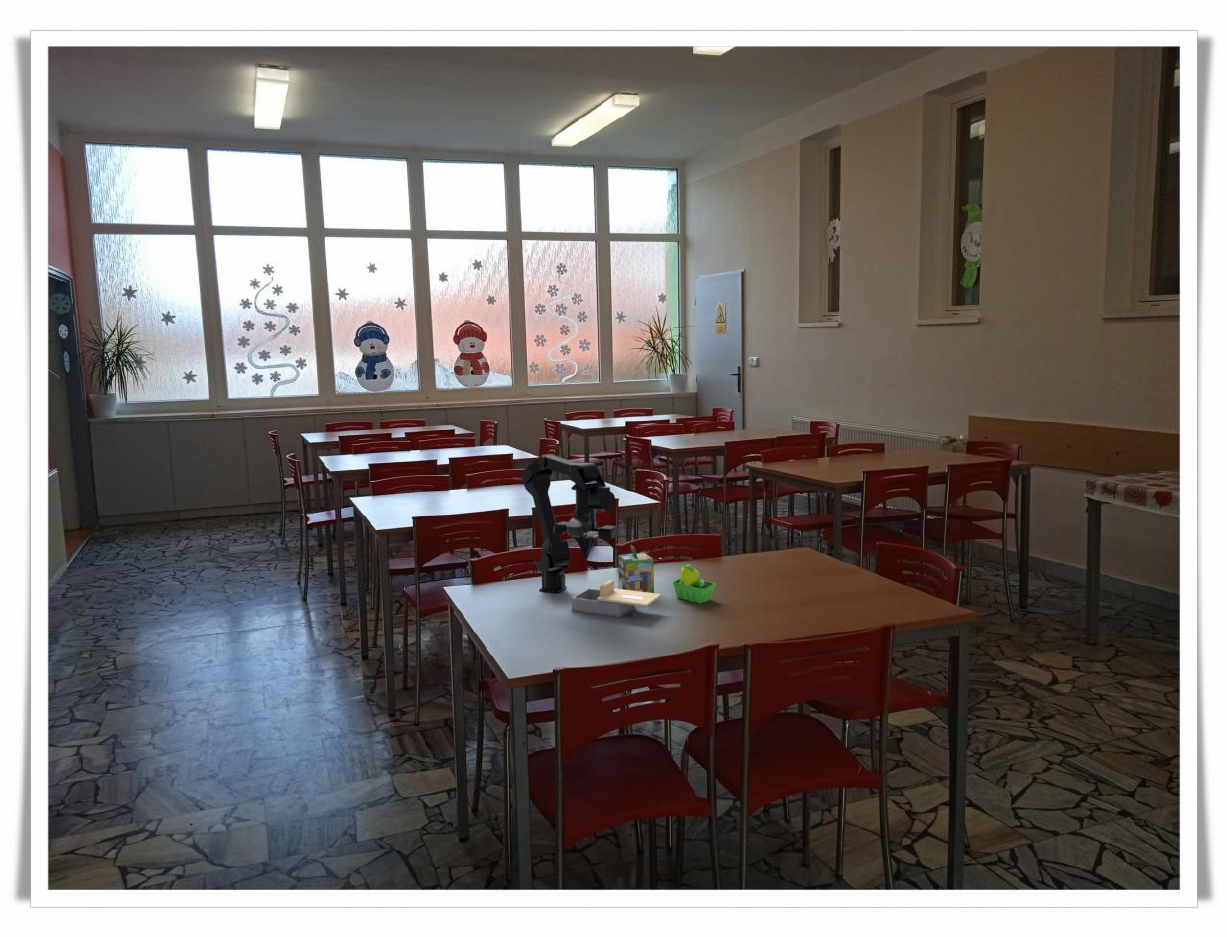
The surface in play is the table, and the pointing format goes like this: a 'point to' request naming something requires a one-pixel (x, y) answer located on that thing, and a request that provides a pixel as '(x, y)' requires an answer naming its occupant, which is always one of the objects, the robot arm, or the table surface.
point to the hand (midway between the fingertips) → (586, 558)
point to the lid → (625, 595)
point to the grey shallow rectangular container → (598, 605)
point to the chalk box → (636, 572)
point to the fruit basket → (693, 586)
